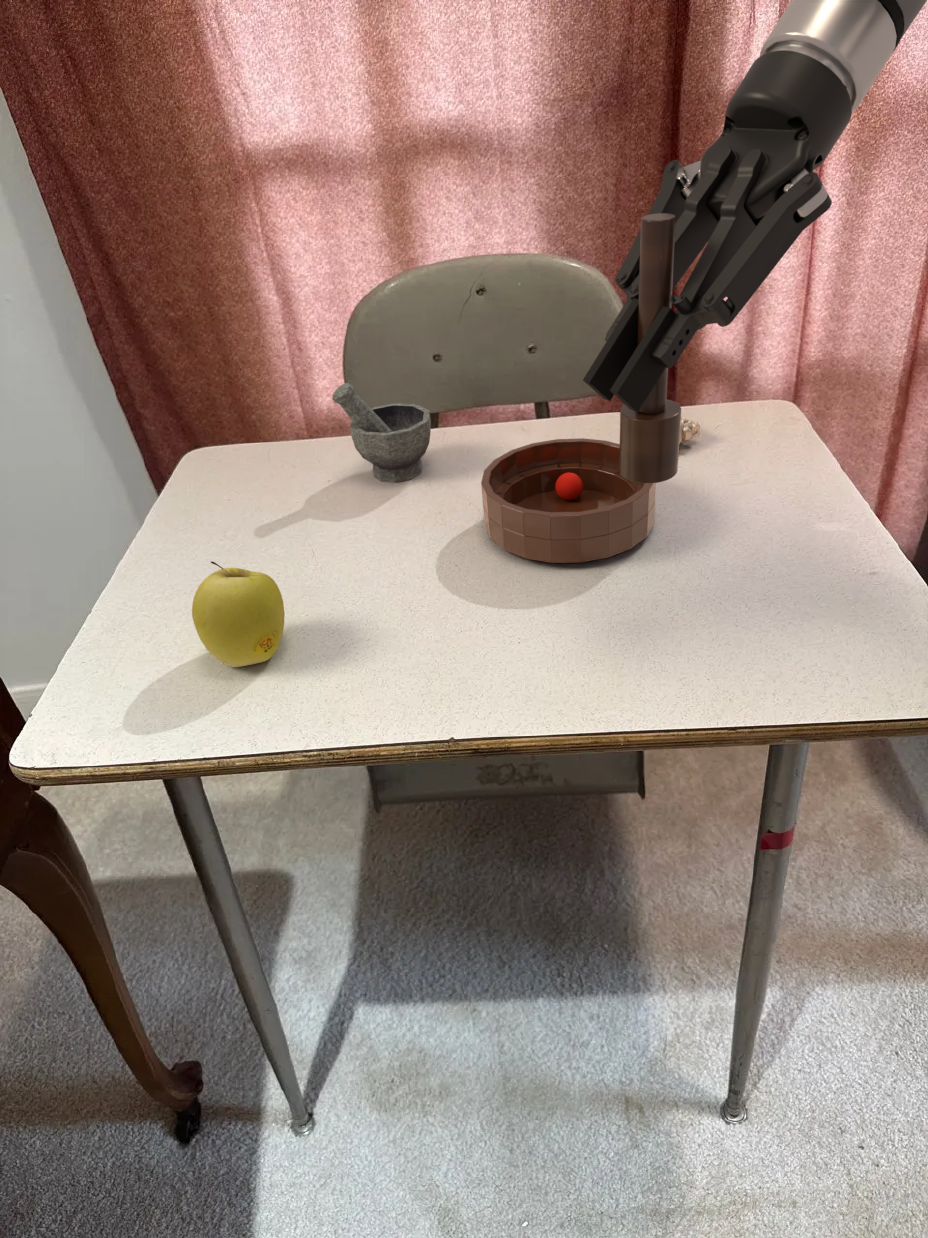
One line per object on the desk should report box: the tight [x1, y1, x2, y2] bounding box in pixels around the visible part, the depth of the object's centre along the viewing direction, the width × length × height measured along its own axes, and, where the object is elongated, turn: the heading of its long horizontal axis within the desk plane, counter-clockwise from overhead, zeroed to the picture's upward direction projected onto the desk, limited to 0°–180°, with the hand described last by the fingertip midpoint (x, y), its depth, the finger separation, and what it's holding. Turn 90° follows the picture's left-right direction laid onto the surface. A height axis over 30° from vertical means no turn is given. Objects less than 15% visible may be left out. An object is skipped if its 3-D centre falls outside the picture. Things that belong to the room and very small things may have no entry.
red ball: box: [555, 473, 583, 500], centre depth 91 cm, size 3×3×3 cm
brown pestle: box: [619, 213, 682, 484], centre depth 59 cm, size 4×4×18 cm
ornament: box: [679, 417, 701, 445], centre depth 102 cm, size 8×7×4 cm
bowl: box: [480, 437, 657, 564], centre depth 87 cm, size 18×18×6 cm
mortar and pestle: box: [332, 382, 432, 483], centre depth 100 cm, size 11×9×12 cm
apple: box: [191, 561, 286, 668], centre depth 73 cm, size 8×8×10 cm
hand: (610, 395), depth 59 cm, fingers closed on brown pestle, 2 cm apart
